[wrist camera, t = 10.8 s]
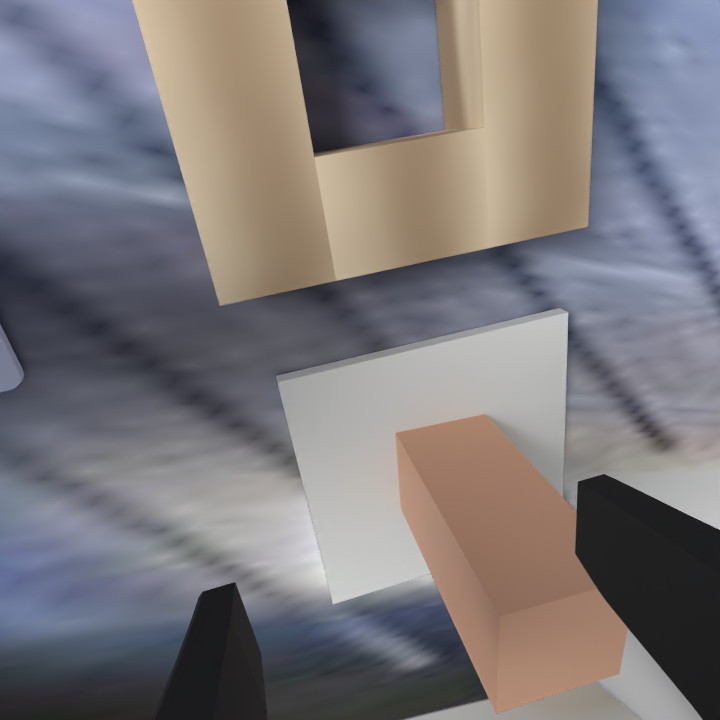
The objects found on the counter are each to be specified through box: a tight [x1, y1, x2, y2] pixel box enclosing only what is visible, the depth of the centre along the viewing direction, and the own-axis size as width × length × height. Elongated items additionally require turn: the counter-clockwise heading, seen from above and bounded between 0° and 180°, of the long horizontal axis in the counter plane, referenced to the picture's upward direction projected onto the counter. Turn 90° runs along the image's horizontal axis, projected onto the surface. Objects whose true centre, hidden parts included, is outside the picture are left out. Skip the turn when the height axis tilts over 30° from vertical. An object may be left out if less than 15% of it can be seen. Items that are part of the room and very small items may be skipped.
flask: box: [596, 629, 703, 720], centre depth 24 cm, size 7×7×10 cm
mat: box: [276, 308, 568, 604], centre depth 22 cm, size 12×12×1 cm
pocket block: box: [132, 0, 598, 306], centre depth 14 cm, size 12×12×3 cm
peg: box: [395, 414, 628, 714], centre depth 18 cm, size 4×4×9 cm
